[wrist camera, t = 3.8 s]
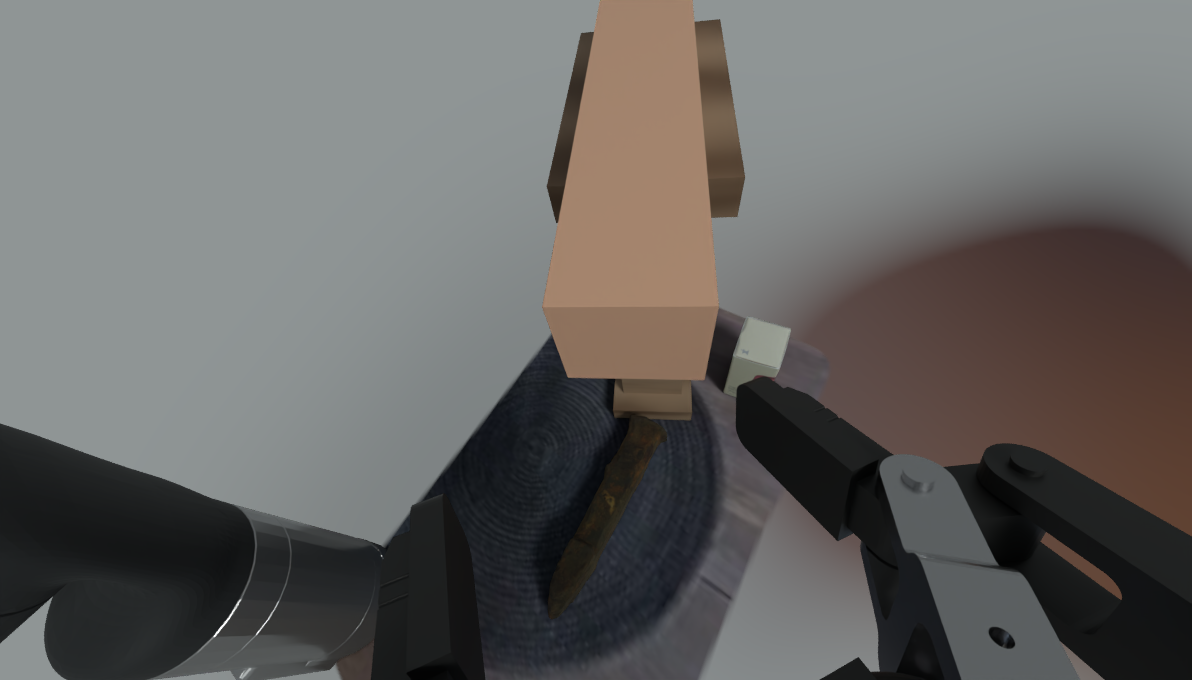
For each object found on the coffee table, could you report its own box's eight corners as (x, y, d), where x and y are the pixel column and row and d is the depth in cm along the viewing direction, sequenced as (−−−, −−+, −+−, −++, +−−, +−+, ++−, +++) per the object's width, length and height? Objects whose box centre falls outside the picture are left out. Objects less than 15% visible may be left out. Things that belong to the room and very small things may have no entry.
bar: (704, 380, 12) (718, 306, 9) (568, 377, 13) (542, 307, 10) (684, 22, 25) (687, -57, 22) (614, 29, 25) (609, -48, 22)
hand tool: (634, 422, 46) (631, 404, 42) (668, 440, 44) (669, 423, 41) (530, 598, 38) (515, 595, 34) (567, 627, 37) (556, 627, 33)
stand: (691, 448, 44) (745, 177, 17) (612, 444, 45) (546, 186, 18) (687, 332, 51) (720, 19, 24) (620, 332, 52) (581, 33, 26)
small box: (762, 407, 45) (780, 371, 38) (721, 393, 46) (732, 355, 40) (774, 368, 47) (793, 327, 41) (735, 355, 49) (747, 314, 42)
